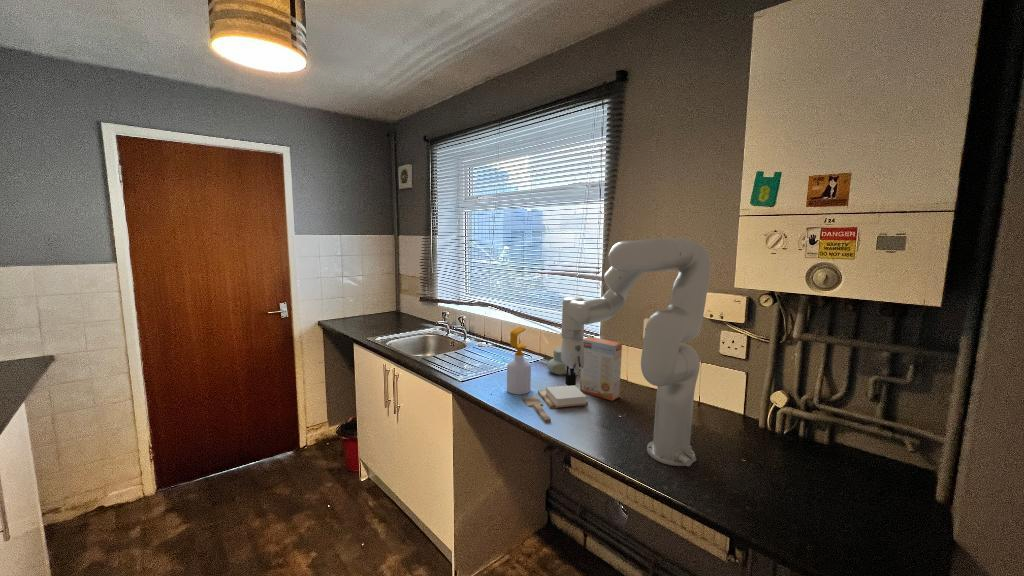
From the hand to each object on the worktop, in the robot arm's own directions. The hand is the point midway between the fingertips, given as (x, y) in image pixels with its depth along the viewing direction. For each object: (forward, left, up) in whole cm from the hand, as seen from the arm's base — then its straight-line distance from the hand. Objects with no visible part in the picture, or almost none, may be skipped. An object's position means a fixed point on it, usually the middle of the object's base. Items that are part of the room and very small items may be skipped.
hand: (570, 384), depth 147 cm
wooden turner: (0, +11, -8) cm, 14 cm away
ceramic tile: (-1, 0, -6) cm, 6 cm away
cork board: (+7, 0, -8) cm, 11 cm away
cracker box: (+8, -16, -8) cm, 20 cm away
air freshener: (+34, -10, -8) cm, 37 cm away
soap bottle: (+18, +13, -8) cm, 24 cm away
